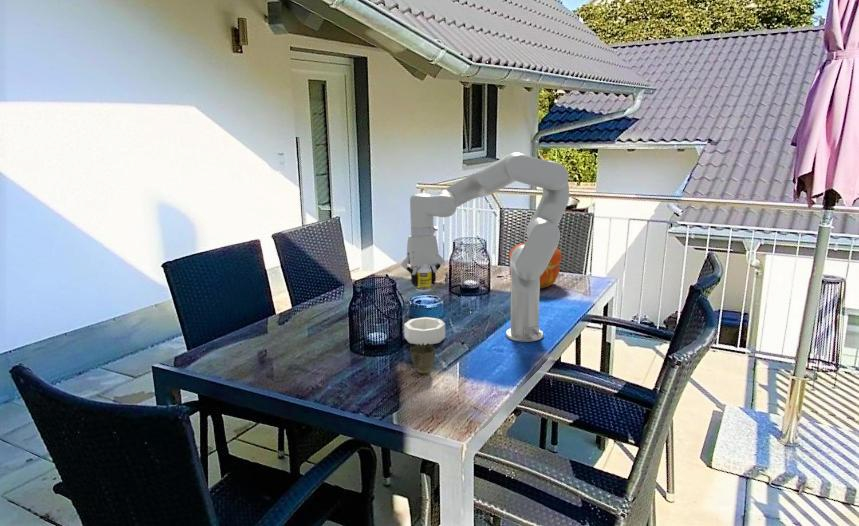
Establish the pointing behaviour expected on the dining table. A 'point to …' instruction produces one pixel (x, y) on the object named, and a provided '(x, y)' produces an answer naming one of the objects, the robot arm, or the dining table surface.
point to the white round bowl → (424, 330)
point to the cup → (422, 357)
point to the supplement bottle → (424, 278)
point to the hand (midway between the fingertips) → (423, 284)
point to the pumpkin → (547, 268)
